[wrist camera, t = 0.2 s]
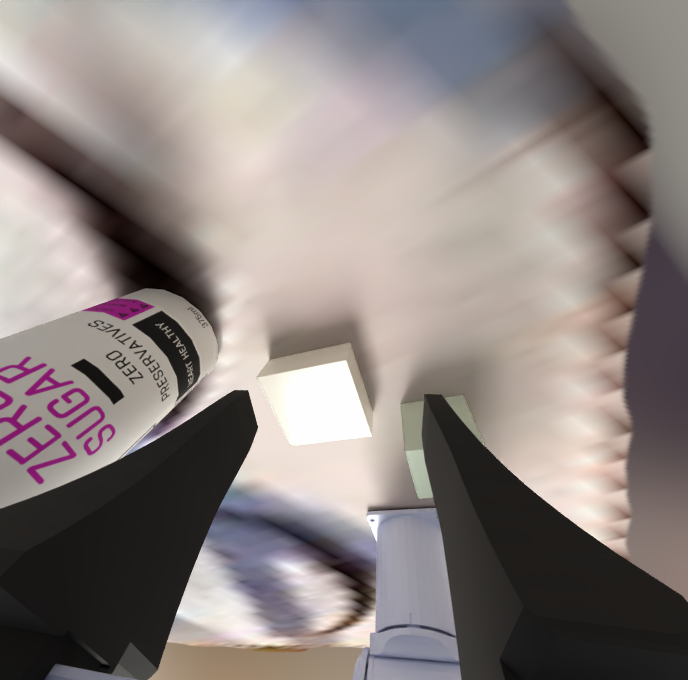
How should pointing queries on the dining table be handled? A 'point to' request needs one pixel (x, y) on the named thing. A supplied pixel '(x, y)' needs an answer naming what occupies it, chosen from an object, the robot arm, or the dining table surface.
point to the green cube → (413, 438)
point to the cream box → (318, 395)
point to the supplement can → (94, 386)
